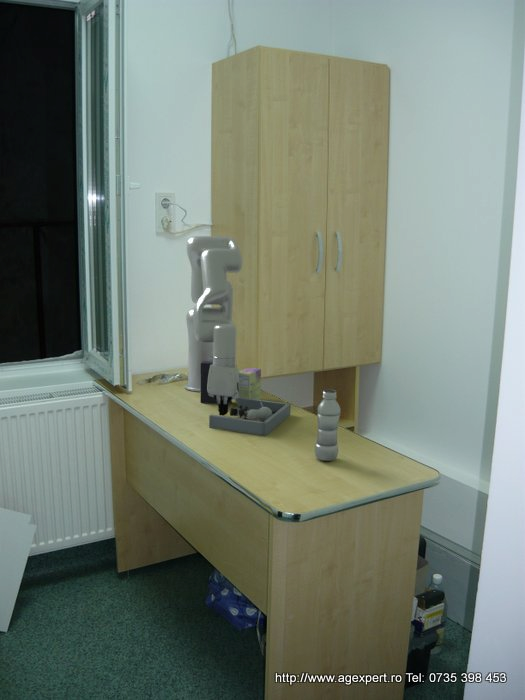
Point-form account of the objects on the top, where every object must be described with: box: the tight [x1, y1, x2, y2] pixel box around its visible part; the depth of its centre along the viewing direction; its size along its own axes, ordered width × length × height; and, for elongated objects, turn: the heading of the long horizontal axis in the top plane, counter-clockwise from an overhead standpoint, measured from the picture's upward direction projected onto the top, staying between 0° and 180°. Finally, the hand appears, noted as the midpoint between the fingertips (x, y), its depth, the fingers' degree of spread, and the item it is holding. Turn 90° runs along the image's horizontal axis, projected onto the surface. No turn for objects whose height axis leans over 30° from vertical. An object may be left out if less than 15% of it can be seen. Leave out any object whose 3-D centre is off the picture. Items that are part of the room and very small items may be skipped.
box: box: [234, 367, 262, 405], centre depth 246 cm, size 10×6×12 cm, turn 156°
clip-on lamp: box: [229, 402, 280, 422], centre depth 227 cm, size 12×6×18 cm
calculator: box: [199, 361, 233, 405], centre depth 243 cm, size 11×4×15 cm, turn 84°
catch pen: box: [208, 397, 292, 437], centre depth 224 cm, size 24×19×4 cm
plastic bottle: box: [314, 389, 342, 462], centre depth 189 cm, size 6×7×20 cm
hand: (223, 414), depth 228 cm, fingers closed
